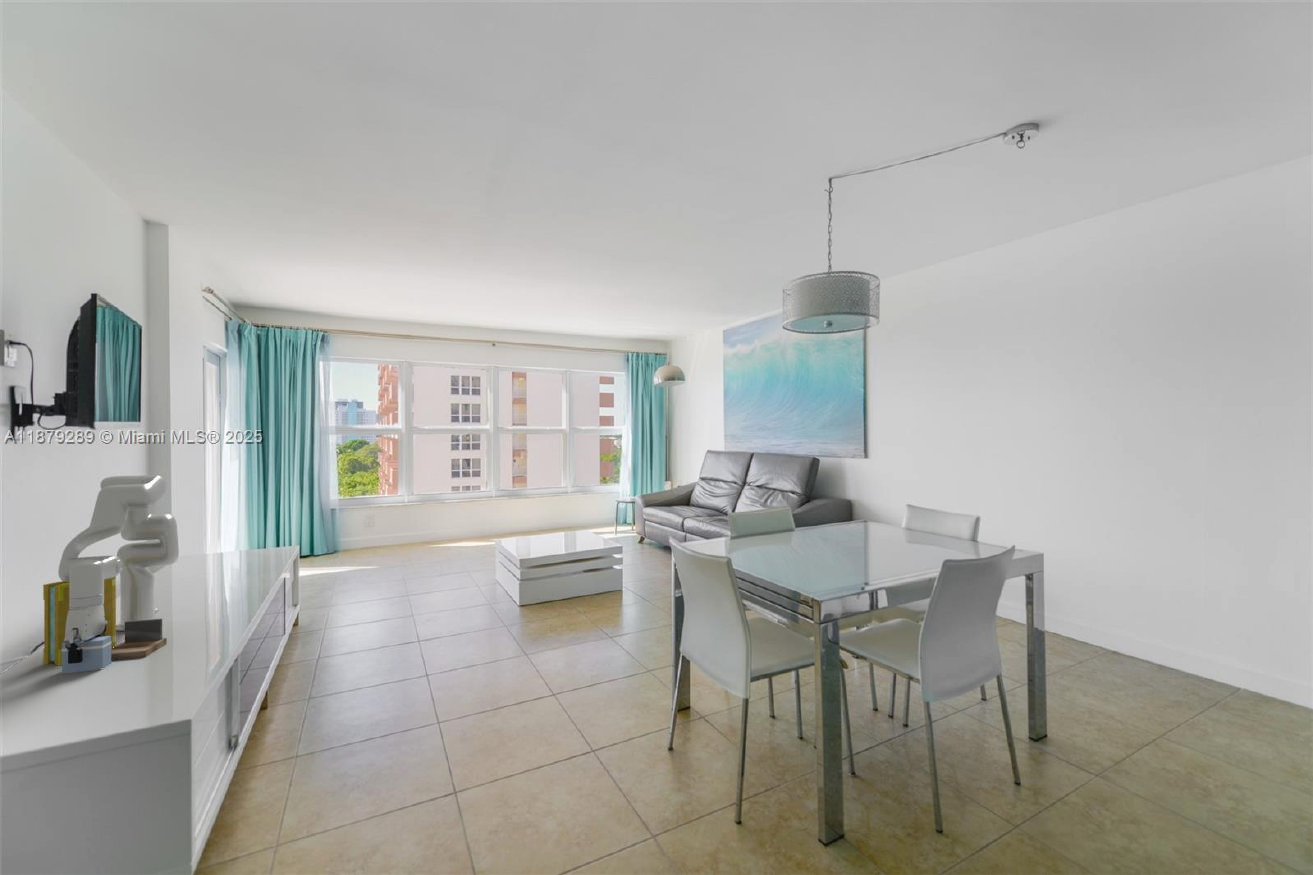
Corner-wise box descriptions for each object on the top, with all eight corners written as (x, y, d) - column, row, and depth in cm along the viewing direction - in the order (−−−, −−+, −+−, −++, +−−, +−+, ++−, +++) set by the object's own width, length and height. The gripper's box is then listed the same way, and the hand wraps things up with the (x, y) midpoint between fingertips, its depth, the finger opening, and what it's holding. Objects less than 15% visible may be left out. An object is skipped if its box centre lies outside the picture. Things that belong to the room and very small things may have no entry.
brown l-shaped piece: (123, 647, 188) (123, 621, 188) (166, 643, 192) (166, 617, 192) (100, 661, 177) (100, 633, 177) (146, 656, 180) (145, 629, 180)
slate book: (71, 668, 172) (71, 639, 172) (111, 664, 175) (111, 635, 175) (61, 673, 168) (61, 643, 168) (102, 669, 171) (102, 640, 171)
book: (59, 665, 174) (59, 585, 174) (43, 663, 175) (43, 584, 175) (121, 645, 190) (121, 572, 190) (106, 644, 192) (106, 572, 192)
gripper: (90, 595, 178) (90, 648, 178) (50, 610, 162) (49, 669, 162) (119, 593, 181) (119, 645, 180) (82, 608, 164) (82, 666, 164)
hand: (86, 657), depth 171 cm, fingers open, 9 cm apart
